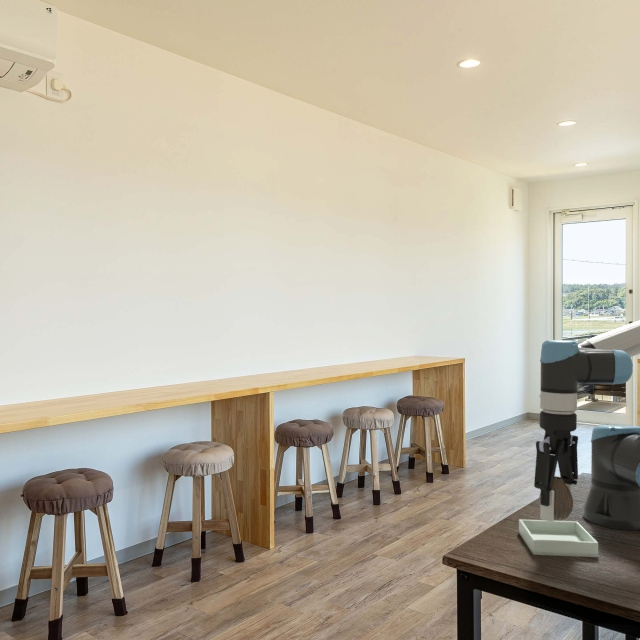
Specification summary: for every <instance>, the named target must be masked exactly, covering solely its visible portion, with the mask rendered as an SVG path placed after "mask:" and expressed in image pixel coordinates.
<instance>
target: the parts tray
mask: <svg viewBox="0 0 640 640" xmlns="http://www.w3.org/2000/svg"><path fill="white" fill-rule="evenodd" d="M518 533H519V536H521V538H522V540H523V541H524V543H525V544H526V546H527V547H528V549H529V551H530V552H531V553H532V555H534V556H552V557H553V556H556V557H557V556H559V557H583V558H599V542H598V540H596V539H595V538H594V537H593V536H592V535H591V534H590V533H589V532H588V531H587V530H586V529H585V528H584V527H583V526H582V525H581V524H580V523H579V521H571V520H561V521H558V520H554V521H553V522H550V521H546V520H543V519H518Z"/></svg>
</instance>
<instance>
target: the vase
mask: <svg viewBox="0 0 640 640" xmlns="http://www.w3.org/2000/svg"><path fill="white" fill-rule="evenodd" d="M552 491H554V521H566V519H568V518H569V517H570V516H571V515H572V512H573V509H574V498H573V493H572V494H571V492H570V490H569V489H568V487H567V486H566V485H565V483H564V481H563V479H562V478H561V477H560V476H557V475H556V476H554V481H553V486H552ZM538 498H539V499H538V502H539V503H538V504H539V505H540V501H541V491H540V493H539V497H538ZM570 514H571V515H570Z"/></svg>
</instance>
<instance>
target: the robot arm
mask: <svg viewBox="0 0 640 640" xmlns="http://www.w3.org/2000/svg"><path fill="white" fill-rule="evenodd" d="M540 351H541V352H540V360H539V361H540V394H539V399H540V400H539V401H540V403H539V408H540V409H541V411H540V412H539V427H540V429H543V431H545V432H544V436H543V440H542V441H541V440H536V442H535V450H536V458H535V470H534V481H533V482H534V483H533V487H534V488H535V489H539V490H540V492H541V501H540V504H539V508H540V509H539V510H540V511H539V514H540V516H539V520H546V521H550V522H553V521H555V520H554V491H552V486H553V481H554V476H555V475H556V470H557V466H558V471H559V477H561V478H562V479H563V481H564V483H565V485H566V486H567V487H568V489H569V490H570V492H571V494H572V495H573V485H575V486H576V485H578V479H579V469H578V467H579V466H578V465H579V464H578V443H579V442H578V441H579V436H578V435H573V434H571V432H575V431H576V430H577V428H578V427H577V422H578V421H577V420H578V419H577V418H578V417H577V416H578V415H577V414H576V411H578V385H584V384H587V385H591V384H592V385H612V386H613V385H619V384H620V385H621V384H625V383H627V382H629V380H631V377H632V375H633V373H634V372H633V369H634V368H633V366H634V365H633V360H632V357H634V356H637V355H640V320H637V321H634V322H631V323H628V324H626V325H623V326H619V327H618V328H614V329H613V330H609V331H606V332H604V333H602V334H601V333H600V334H598V335H596V336H593V337H590V338H588V339H585V340H582V341H579V342H577V341H576V340H564V339H563V340H561V339H550V340H549V339H548V340H545V341H543V342H542V344H541V350H540ZM590 443H591V460H590V461H591V466H590V467H591V473H590V474H591V476H590V477H591V478H590V479H591V481H590V483H591V485H590V488H589V490H588V492H587V496H586V498H585V499H584V500H585V501H584V504H583V507H582V516H583V518H584V519H585V520H587V522H588V521H589V522H591V523H593V524H596V525H597V526H598V525H599V526H602V527H606V528H610V529H611V528H612V529H616V530H625V531H627V530H628V531H640V426H639V425H619V424H617V425H615V424H613V425H608V424H607V425H597V426H595V427H594V428H593V429H592V432H591V440H590ZM571 515H572V513H571V514H570V516H571Z"/></svg>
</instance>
